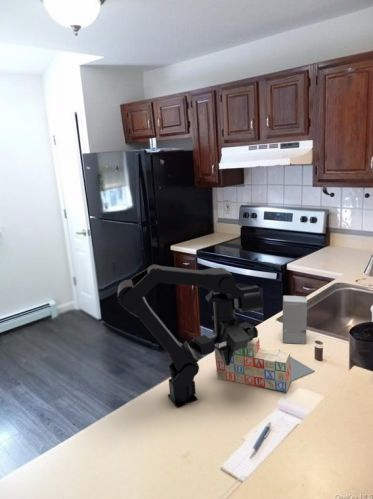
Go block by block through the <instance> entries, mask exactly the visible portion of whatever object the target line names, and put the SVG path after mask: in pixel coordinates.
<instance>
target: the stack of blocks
mask: <svg viewBox="0 0 373 499" xmlns="http://www.w3.org/2000/svg"><path fill="white" fill-rule="evenodd" d="M279 350H280V349H272V348H266V347H264V348H263V347H260V338H259V337H256V338H253V340H252V341H249V342H248V346H247V347H246V348H241V349H239V350H237V351H235V350H234V352H233V355H232V358H231V361H230V364H229V365H228V366H226V365H225V364H224V362H223V360H222V358H221V356H220V354H219V352H218V350H217V349H216V348H215V350H214V356H215V357H214V359H215V366H216V377H217V378H218V379H220V380H225V381H229V382H233V383H234V382H236V383H239V384H243V385H244V384H245V385H251V386H256V387H259V388H260V387H261V388H266V389H270V390H273V391H274V390H275V391H280V392H285V393H286V392H287V391H288V388H289V387H290V385H291V365H290V357H291V352H290V351H285V350H280V351H279Z"/></svg>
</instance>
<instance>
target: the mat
mask: <svg viewBox="0 0 373 499" xmlns="http://www.w3.org/2000/svg"><path fill="white" fill-rule="evenodd" d="M278 350H279V351H281V350H280V349H278ZM290 365H291V382H294V381H297V380H298V379H302V378H304V377H306V376H309V375H311V374H313V373H315V370H314V369H312V368H311V367H309V366H308V365H305V364H303V363H302V362H300V361H299V360H297V359H295V358H294V357H292V356H290ZM291 382H290V383H291Z"/></svg>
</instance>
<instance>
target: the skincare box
mask: <svg viewBox="0 0 373 499" xmlns="http://www.w3.org/2000/svg"><path fill="white" fill-rule="evenodd" d="M307 318H308V298H307V296H300V295H299V296H297V295H283V296H282V342H283V344H301V345H302V344H303V345H306V344H307V326H308V325H307V321H308V319H307Z"/></svg>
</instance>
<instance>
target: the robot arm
mask: <svg viewBox="0 0 373 499" xmlns="http://www.w3.org/2000/svg"><path fill="white" fill-rule="evenodd" d="M159 283H161V284H172V285H182V286H192V287H200V288H203V289H207V290H208V291H209V293H208V294H207V295H205V299H206V300H207V302H208V303H213V315H212V316H211V320H212V321H214V328H213V329H212V334H214V335H215V336H213V337H208V336H207V335H206V334H204V335H200V336H197V337H193V339H192V342H191V344H192V347H190V345H189V343H188V342H187V340H185V341H184V343H181V342H180V341H179V340H178V339H177V338H176V337H175V335H173V333H172V332H171V331H170V330H169V329H168V328H167V326H166V324H164V322H163V321H162V320H161V319H160V317H159V316H158V315H157V314H156V313H155V311H154V310H153V309H152V307H151V306H150V305H149V303H148V302H147V298H146V297H145V296H146V295H148V293H150V291H151V290H152V289H153V288H154V287H155V286H156V285H158V284H159ZM236 283H237V282H236V277H235V276H234V275H233V274H232V273H230V272H229V271H228V269H226V268H223V267H214V268H211V267H210V268H206V269H191V268H182V267H181V268H180V267H173V266H166V265H165V266H163V265H158V264H152V265H149V266H148V267H147V268H146V269H144V270H143V271H141V272H139V273H137V274H135V275H134V276H132V277H131V278H130V279H124V280H123V281H121V282H120V283H119V285H118V287H117V301H118V303H119V305H120V306H121V307H122V308H124V309H125V310H126V311H127V312H129V314H132V315H133V316H135V317H137V318H138V320H140V321H141V323H142V324H143V325H144V326H145V327H146V328H147V330H148V331H149V332H150V333H151V335H152V336H154V338H155V339H156V341H157V342H158V343H159V344H160V346H162V348H163V349H164V350H165V351H166V352H167V353H168V355H169V356H170V359H171V360H172V361H171V362H170V363H169V365H168V367H167V368H168V372H169V375H170V378H169V379H168V387H169V388H168V389H169V393H168V394H167V397H168V399H169V400H170V401H171V402H172V404H174V406H175V407H176V408H181V407H183V406H186V405H188V404H191V403H194V402H196V401H198V397H197V396H196V394H197V393H196V391H197V390H196V382H195V380H194V379H195V377H196V376H197V375H198V373H199V371H200V366H199V363H198V362H199V358H198V356H197V354H196V352H198V353H199V354H200V355H202V356H206V355H208V354H209V355H210V354H212V353H214V352H215V348H216V349H217V350H218V352H219V354H220V356H221V358H222V360H223V362H224V364H225V365H226V366H228V365H229V364H230V361H231V358H232V355H233V352H234V350H235V351H237V350H239V349H241V348H246V347H247V346H248V342H249V341H252V340H253V338H259V330H258V329H257V327H256V326H255V325H253V324H251V323H249V322H248V321H244V322H242V323H239V319H238V317H236V313H235V309H236V310H239V312H240V313H246V312H252V311H260V310H263V305H264V300H263V299H262V295H261V292H260V287H259V286H257V285H256V284H255V285H250V286H246V287H244V286H243V287H240V286H238V285H237V284H236ZM195 351H196V352H195Z"/></svg>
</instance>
